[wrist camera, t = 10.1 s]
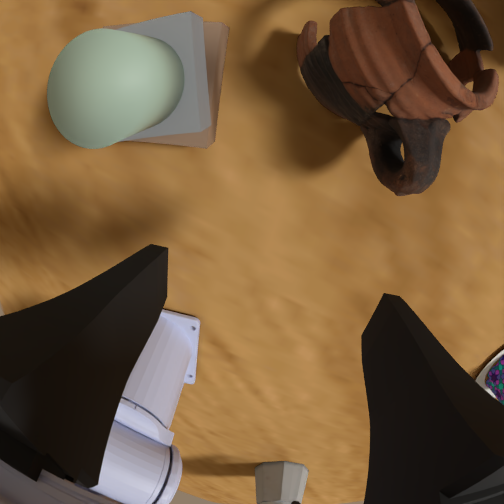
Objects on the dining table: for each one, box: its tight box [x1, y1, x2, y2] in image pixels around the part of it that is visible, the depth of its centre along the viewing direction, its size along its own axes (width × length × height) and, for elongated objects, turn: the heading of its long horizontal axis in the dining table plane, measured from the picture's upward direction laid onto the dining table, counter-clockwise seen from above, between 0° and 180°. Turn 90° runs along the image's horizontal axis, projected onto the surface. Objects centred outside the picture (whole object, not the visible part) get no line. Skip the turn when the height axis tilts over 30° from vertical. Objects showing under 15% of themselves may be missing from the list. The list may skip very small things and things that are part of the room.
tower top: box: [116, 11, 211, 142], centre depth 14 cm, size 6×6×2 cm
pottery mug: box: [297, 0, 499, 196], centre depth 13 cm, size 12×10×8 cm
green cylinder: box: [47, 29, 185, 149], centre depth 11 cm, size 5×5×4 cm
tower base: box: [103, 22, 229, 148], centre depth 16 cm, size 7×7×2 cm
